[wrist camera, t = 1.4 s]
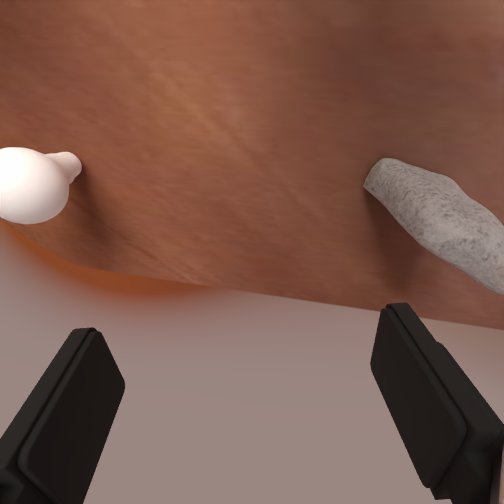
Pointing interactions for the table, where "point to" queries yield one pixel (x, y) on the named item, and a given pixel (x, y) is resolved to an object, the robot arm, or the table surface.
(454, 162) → the table surface
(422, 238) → the decorative stone
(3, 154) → the lightbulb
